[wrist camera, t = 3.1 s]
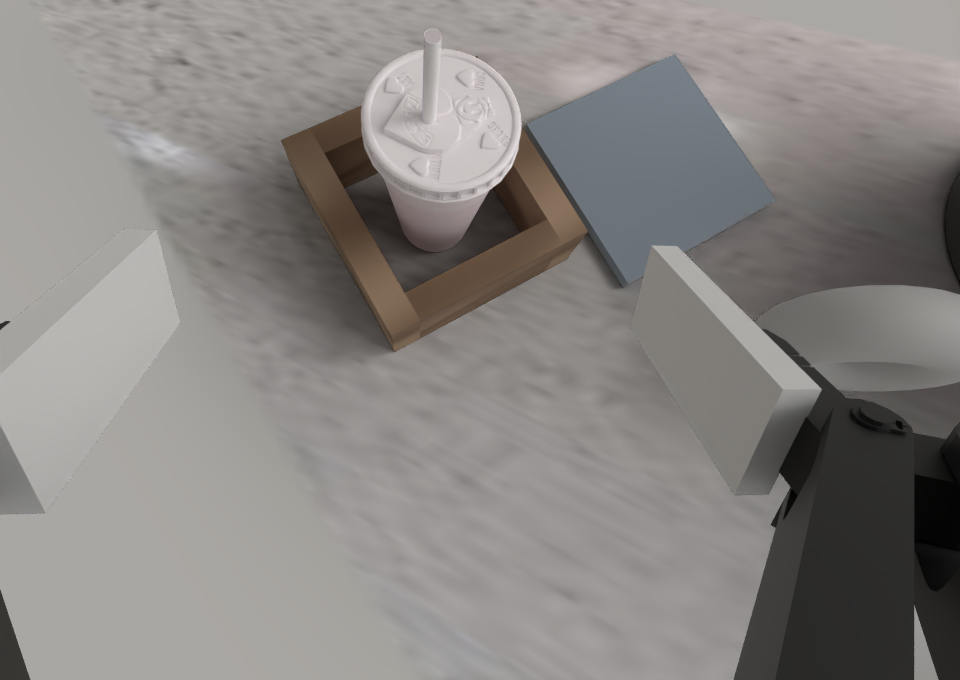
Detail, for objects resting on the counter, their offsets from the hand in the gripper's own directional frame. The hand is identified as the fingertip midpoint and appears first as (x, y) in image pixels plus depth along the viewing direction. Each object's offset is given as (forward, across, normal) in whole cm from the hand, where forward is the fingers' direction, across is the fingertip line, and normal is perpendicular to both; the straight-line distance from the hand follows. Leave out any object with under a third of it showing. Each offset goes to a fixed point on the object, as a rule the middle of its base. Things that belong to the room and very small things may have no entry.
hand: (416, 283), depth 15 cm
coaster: (+18, +14, -1) cm, 23 cm away
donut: (+10, +22, -10) cm, 26 cm away
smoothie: (+16, +1, -4) cm, 17 cm away
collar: (+16, +1, -4) cm, 16 cm away
